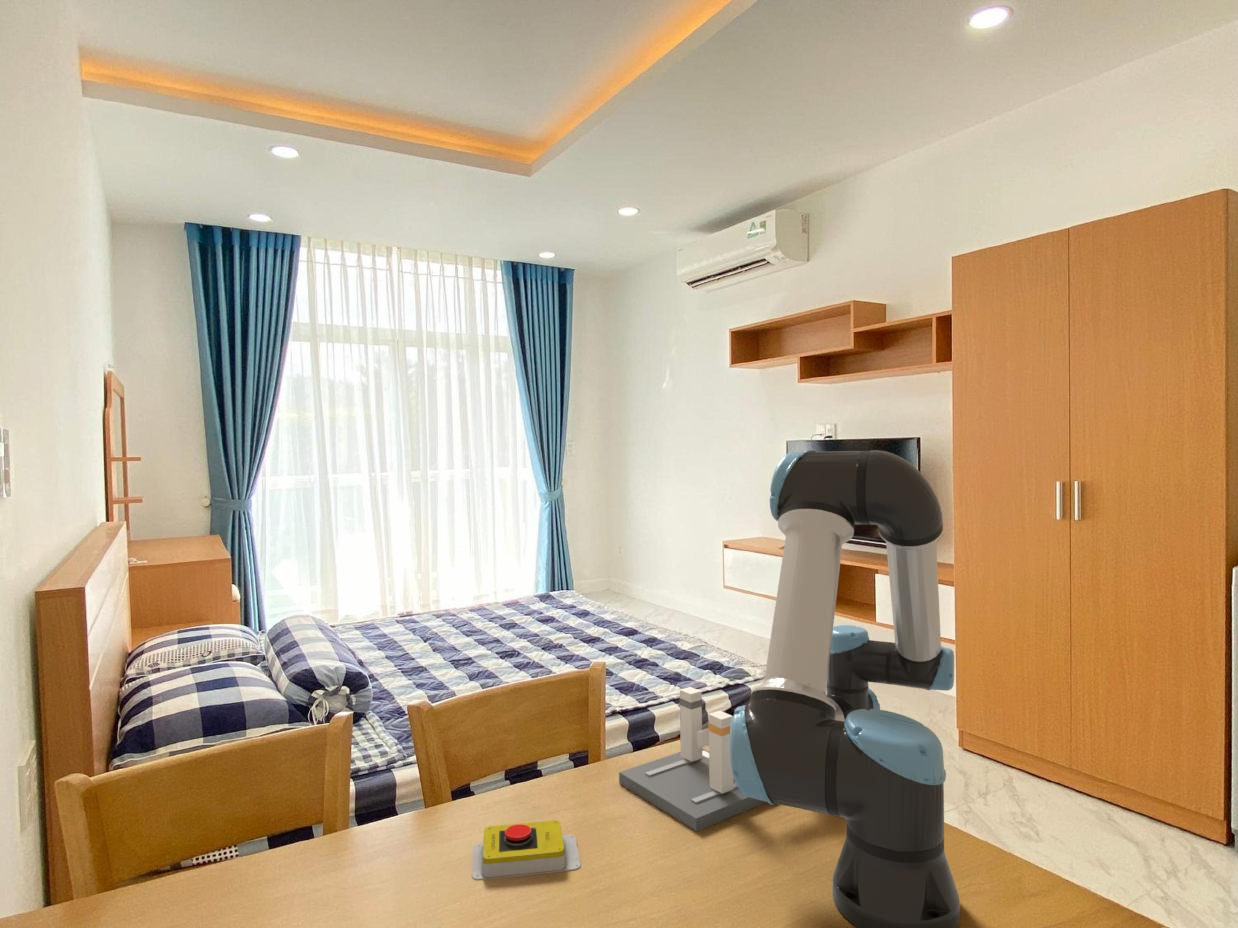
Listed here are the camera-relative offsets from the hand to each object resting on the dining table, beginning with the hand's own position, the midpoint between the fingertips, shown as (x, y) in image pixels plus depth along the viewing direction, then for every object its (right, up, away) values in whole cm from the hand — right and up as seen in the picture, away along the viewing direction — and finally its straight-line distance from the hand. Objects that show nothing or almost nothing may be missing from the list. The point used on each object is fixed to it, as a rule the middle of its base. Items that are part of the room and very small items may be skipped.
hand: (725, 752), depth 124 cm
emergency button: (-31, -10, -15) cm, 36 cm away
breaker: (-5, -5, +11) cm, 13 cm away
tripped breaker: (-1, -5, -1) cm, 5 cm away
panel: (-4, -8, +4) cm, 10 cm away
